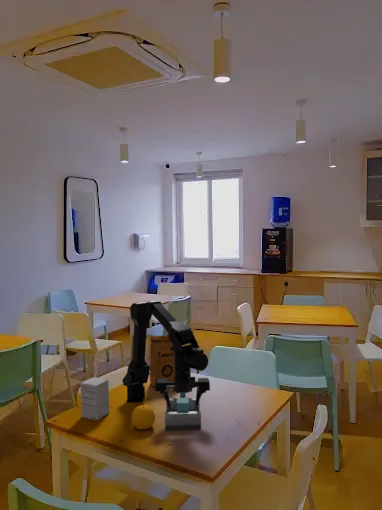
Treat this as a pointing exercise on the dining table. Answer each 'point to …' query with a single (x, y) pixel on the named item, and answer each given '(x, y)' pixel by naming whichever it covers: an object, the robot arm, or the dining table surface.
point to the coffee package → (161, 359)
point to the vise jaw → (182, 395)
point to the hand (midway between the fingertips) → (182, 409)
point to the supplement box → (94, 398)
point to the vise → (183, 420)
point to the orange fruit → (143, 417)
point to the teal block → (182, 404)
